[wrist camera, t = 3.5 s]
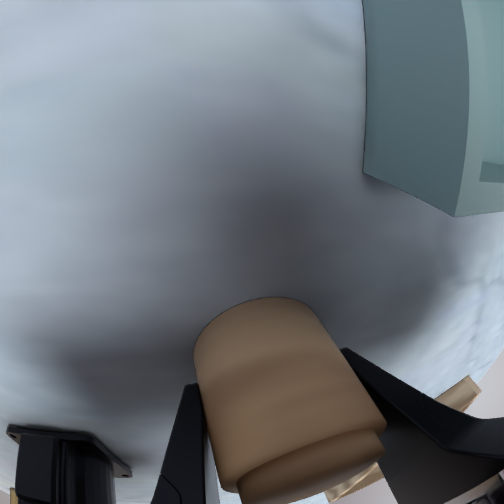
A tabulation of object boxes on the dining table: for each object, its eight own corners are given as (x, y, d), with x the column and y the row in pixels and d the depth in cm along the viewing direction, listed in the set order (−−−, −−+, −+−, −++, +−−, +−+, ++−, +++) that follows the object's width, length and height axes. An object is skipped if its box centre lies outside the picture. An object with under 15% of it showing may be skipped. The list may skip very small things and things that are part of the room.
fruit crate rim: (404, 449, 35) (411, 461, 32) (322, 488, 31) (328, 502, 29) (468, 375, 24) (481, 391, 21) (364, 437, 20) (378, 461, 18)
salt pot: (311, 371, 12) (367, 474, 7) (203, 396, 11) (234, 517, 6) (327, 284, 9) (427, 413, 5) (182, 311, 8) (214, 493, 4)
